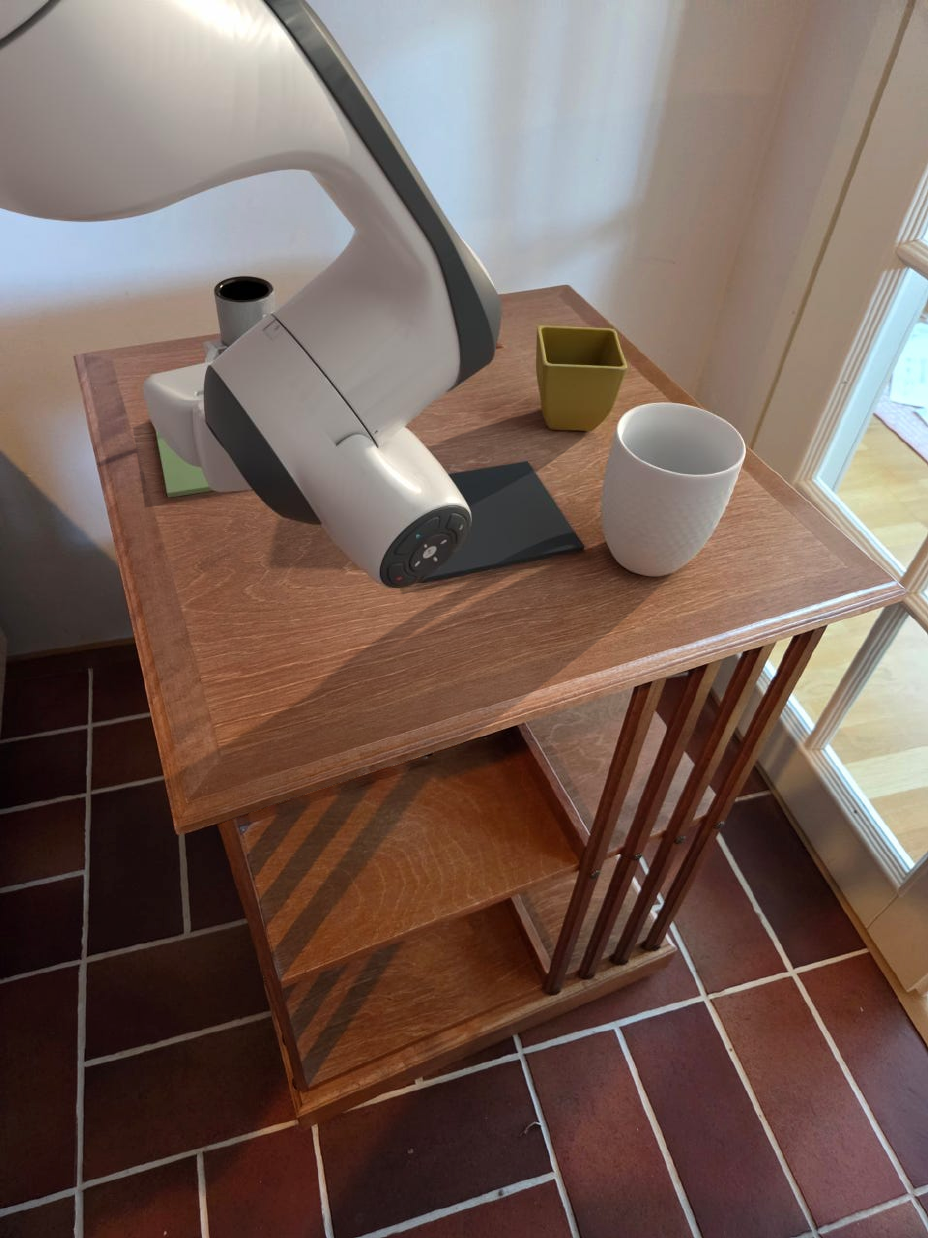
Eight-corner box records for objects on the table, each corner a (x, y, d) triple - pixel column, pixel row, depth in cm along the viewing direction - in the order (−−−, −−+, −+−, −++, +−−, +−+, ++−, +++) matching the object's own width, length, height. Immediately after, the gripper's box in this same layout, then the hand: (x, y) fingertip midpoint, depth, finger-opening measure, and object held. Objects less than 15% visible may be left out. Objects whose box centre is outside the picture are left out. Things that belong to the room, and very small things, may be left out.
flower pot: (526, 396, 97) (536, 323, 90) (600, 399, 97) (615, 327, 91) (532, 439, 91) (543, 364, 84) (611, 442, 91) (628, 368, 85)
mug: (580, 489, 85) (603, 374, 76) (686, 495, 86) (722, 382, 76) (594, 591, 75) (623, 472, 65) (714, 597, 75) (761, 480, 66)
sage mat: (168, 498, 80) (166, 493, 80) (153, 419, 89) (152, 414, 88) (331, 472, 84) (331, 467, 84) (302, 399, 93) (301, 395, 93)
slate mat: (422, 583, 74) (422, 578, 74) (380, 489, 83) (379, 484, 83) (583, 550, 79) (585, 546, 78) (527, 465, 87) (527, 460, 87)
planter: (291, 414, 71) (279, 297, 64) (237, 422, 70) (219, 304, 62) (279, 387, 74) (266, 272, 66) (227, 394, 73) (208, 278, 65)
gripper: (443, 353, 62) (358, 280, 70) (175, 422, 54) (112, 329, 62) (439, 426, 67) (360, 349, 75) (191, 499, 59) (132, 404, 66)
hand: (246, 340), depth 68 cm, fingers closed on planter, 4 cm apart
